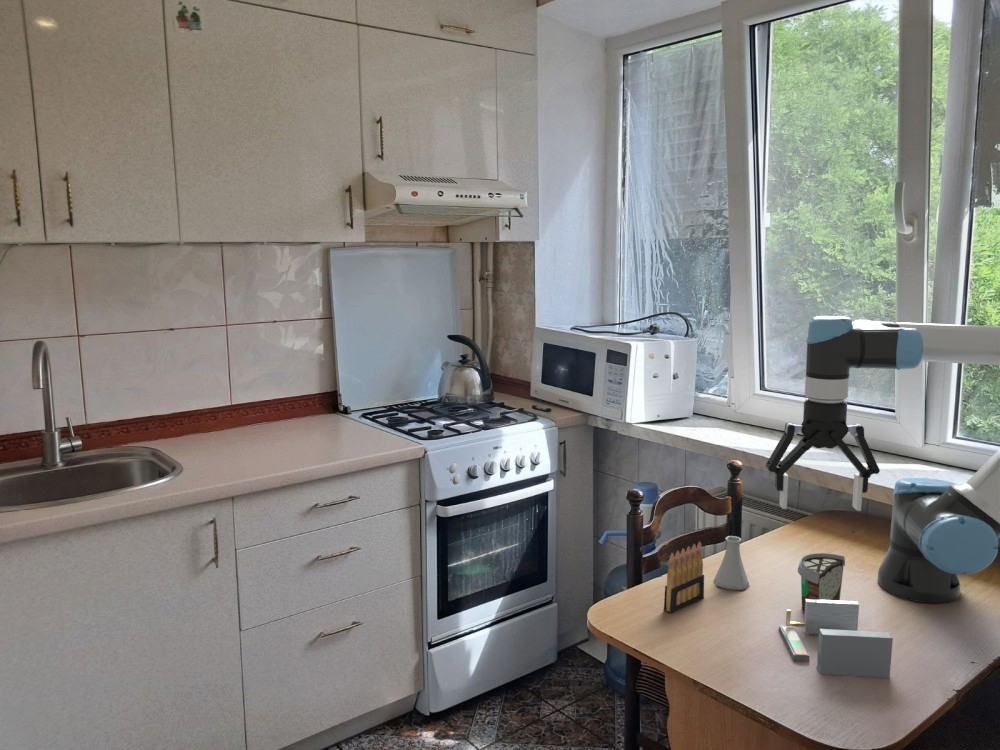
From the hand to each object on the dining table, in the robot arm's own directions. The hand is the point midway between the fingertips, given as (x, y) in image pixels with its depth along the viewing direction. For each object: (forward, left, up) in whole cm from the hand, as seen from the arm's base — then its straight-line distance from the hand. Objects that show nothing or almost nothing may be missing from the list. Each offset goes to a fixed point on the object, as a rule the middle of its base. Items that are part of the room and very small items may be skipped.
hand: (819, 507), depth 153 cm
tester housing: (+2, +17, -21) cm, 27 cm away
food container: (0, 0, -21) cm, 21 cm away
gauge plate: (+2, +11, -20) cm, 23 cm away
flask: (+14, -10, -21) cm, 27 cm away
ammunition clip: (+25, +1, -21) cm, 32 cm away
